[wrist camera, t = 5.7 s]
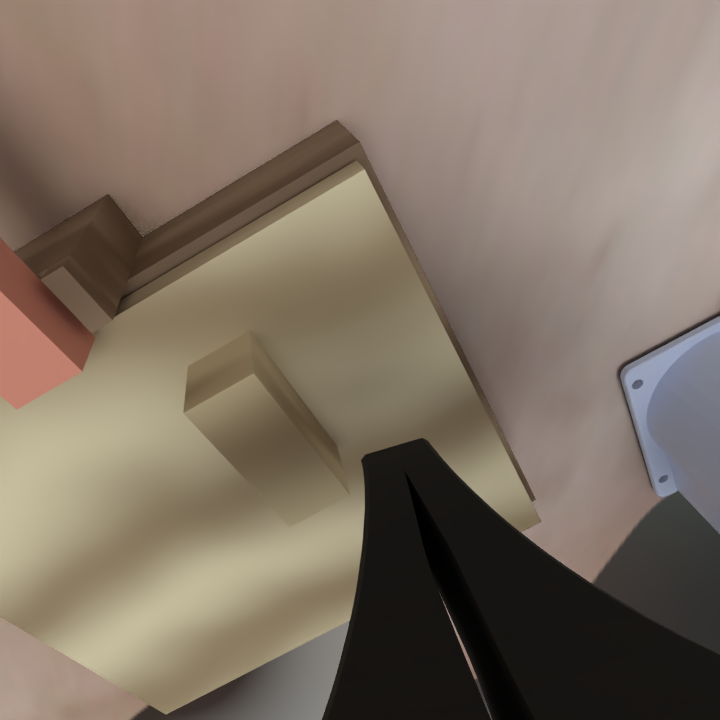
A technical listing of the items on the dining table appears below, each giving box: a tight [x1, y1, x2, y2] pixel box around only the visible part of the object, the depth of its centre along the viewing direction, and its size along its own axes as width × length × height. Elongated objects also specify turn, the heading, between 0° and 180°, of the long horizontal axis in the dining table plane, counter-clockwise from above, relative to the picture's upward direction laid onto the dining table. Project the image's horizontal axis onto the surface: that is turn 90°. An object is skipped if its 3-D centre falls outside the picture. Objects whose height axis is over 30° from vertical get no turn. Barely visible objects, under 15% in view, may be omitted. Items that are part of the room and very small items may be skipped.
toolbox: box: [14, 120, 536, 502], centre depth 20 cm, size 18×18×6 cm
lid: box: [0, 160, 541, 714], centre depth 18 cm, size 15×17×3 cm
